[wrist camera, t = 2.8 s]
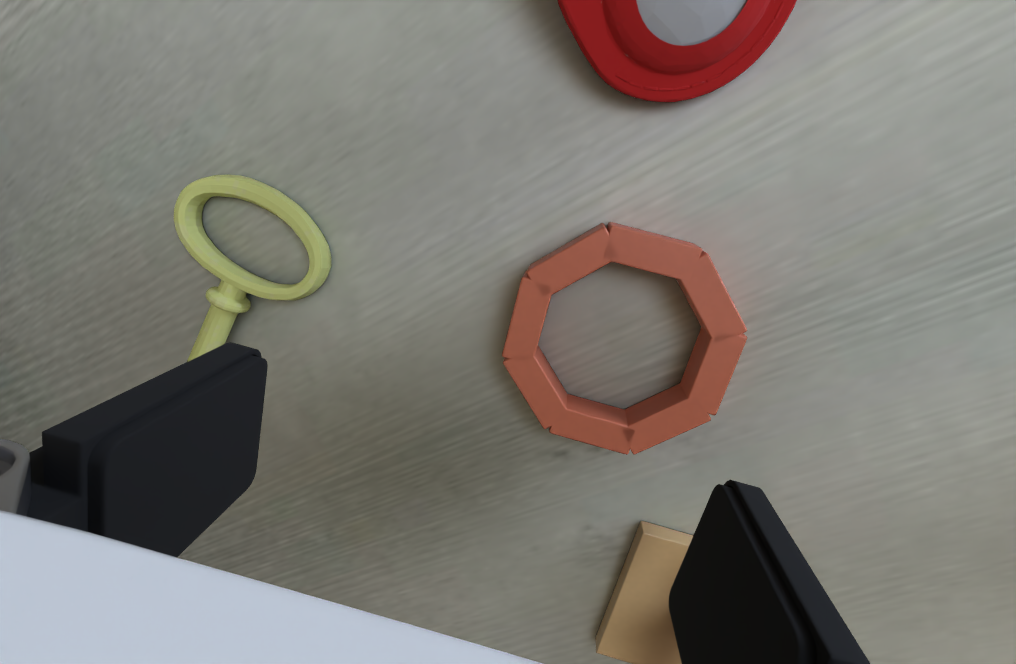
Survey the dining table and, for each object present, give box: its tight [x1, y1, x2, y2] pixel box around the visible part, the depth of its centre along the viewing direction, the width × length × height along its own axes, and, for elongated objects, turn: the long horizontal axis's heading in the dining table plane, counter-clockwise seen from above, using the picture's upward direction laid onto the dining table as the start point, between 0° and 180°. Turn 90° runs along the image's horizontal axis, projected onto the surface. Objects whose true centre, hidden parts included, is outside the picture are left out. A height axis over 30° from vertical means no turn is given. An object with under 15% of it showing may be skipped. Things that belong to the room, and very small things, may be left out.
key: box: [174, 175, 331, 362], centre depth 25 cm, size 7×12×2 cm, turn 170°
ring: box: [502, 222, 747, 455], centre depth 23 cm, size 10×10×2 cm
